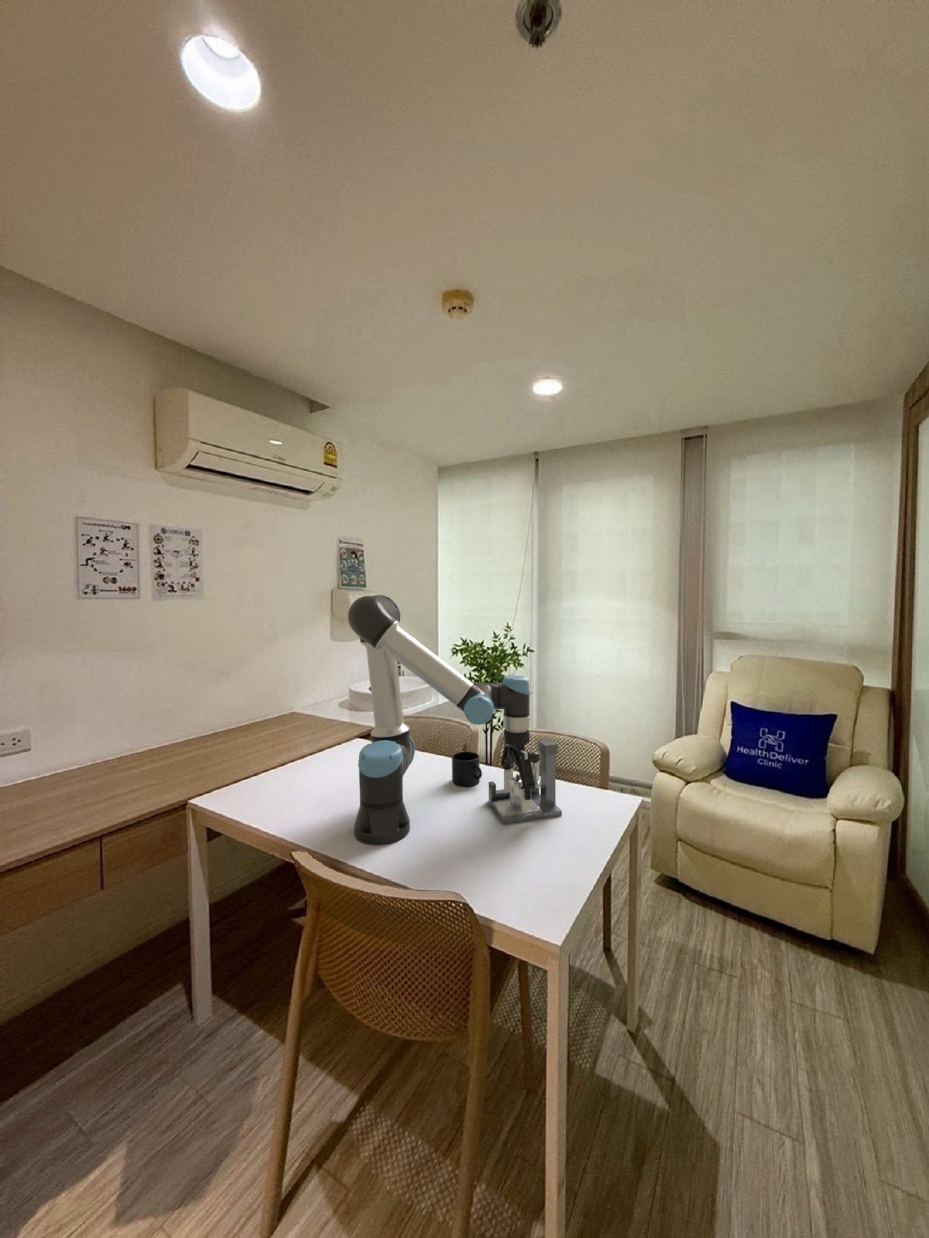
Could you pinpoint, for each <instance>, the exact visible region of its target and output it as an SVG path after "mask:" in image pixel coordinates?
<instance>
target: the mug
mask: <svg viewBox="0 0 929 1238" xmlns="http://www.w3.org/2000/svg"><path fill="white" fill-rule="evenodd" d="M451 768H452V769H451V775H452V776H451V781H452V784H453V785H455V786H456V787H461V788H462V787H463V788H469V787H470V788H471V787H475V786H477V785H479V783H480V779H481V778H482V776H483V773H482V769H481V767H480V754H478V753H477V752H474V751H473V752H472V751H460V752H459V751H458V752H456V753H454V754H452V756H451Z"/></svg>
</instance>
